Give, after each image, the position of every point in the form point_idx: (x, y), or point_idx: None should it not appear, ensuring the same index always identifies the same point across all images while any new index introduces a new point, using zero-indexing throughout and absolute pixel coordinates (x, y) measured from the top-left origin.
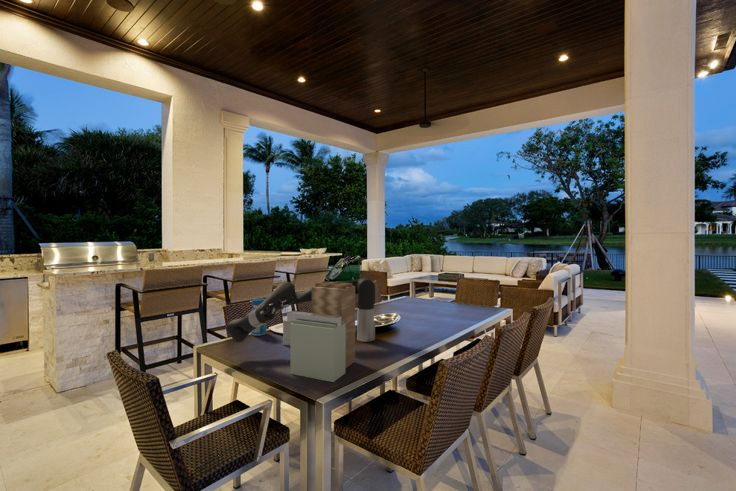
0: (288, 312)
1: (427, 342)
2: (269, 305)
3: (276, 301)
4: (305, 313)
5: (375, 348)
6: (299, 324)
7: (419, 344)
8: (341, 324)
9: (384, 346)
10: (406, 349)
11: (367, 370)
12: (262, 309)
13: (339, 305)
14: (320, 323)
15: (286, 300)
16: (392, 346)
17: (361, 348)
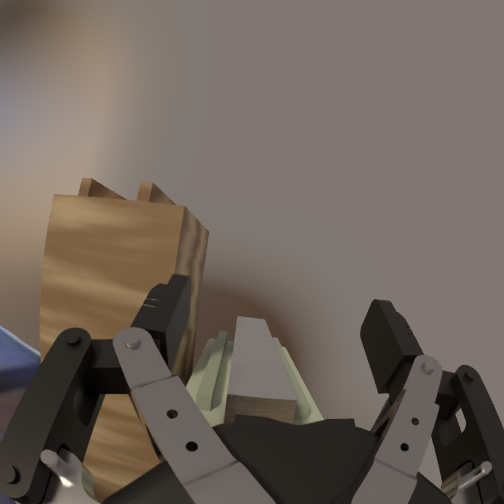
0: (288, 396)
1: (10, 345)
2: (454, 373)
3: (400, 322)
4: (255, 353)
5: (14, 399)
6: (307, 396)
7: (16, 353)
8: (226, 341)
9: (6, 385)
10: (36, 370)
11: None
12: (499, 445)
13: (199, 287)
14: (283, 351)
15: (168, 335)
16: (11, 378)
17: (5, 418)
